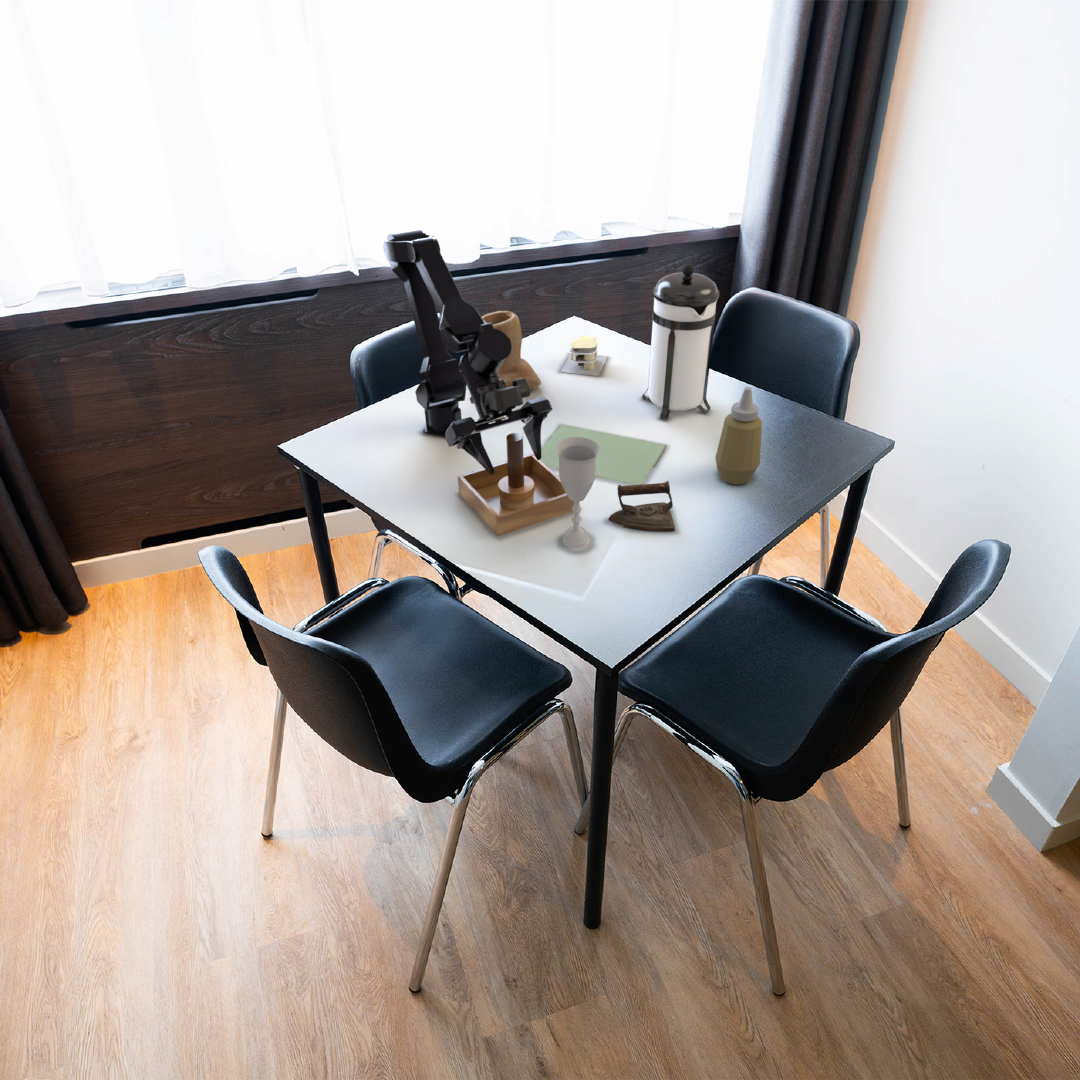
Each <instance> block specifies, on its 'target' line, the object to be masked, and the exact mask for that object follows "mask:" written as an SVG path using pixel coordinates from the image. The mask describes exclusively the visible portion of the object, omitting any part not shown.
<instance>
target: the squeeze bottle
mask: <svg viewBox="0 0 1080 1080" xmlns="http://www.w3.org/2000/svg"><path fill="white" fill-rule="evenodd" d="M759 408H760V407H759V406H757V404H755V403H754V400H753V389H752V387H750V386H745V387H744V389H743V391H742V394H741V397H740V399H739V401H737V402H735V403H733V404H732V406H731V409H730V410H731V411H730V413H728V414H727V415H726V416H725V417H724V420H723V425H722V427H721V433H720V435H719V436H720V437H719V441H718V445H717V448H716V453H715V455H714V456H715V458H714V459H715V464H716V468H717V472H718V475H719V478H720V479H721V480H722V481H723V482H725V483H727V484H730V485H744V484H747V483H749V482H750V481H751V480H752V478H753V476H754V475H755V473H756V471H757V469H758V468H759V466H760V464H761V451H762V450H761V449H762V433H763V422H762V419H761V418H760V417H759V410H760V409H759Z"/></svg>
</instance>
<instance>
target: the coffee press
mask: <svg viewBox="0 0 1080 1080" xmlns="http://www.w3.org/2000/svg"><path fill="white" fill-rule="evenodd" d="M652 297H653V300H654V301H653V306H652V312H651V319H652V326H651V337H650V340H651V341H650V352H649V353H650V355H649V368H648V379H647V380H648V382H647V389H646V391H645V392H644V393H643V394H642V395H641V398H642V400H643V401H649V400H650V401H651V402H652V403H653V405H655V406H657V407H659V408H661V412H660V415H659V419H660V420H664V421H667V420H669V416H670V413H671V412H672V411H687V410H692V409H695V408H698V410H700V412H701V413H702V414H704V415H705V414H708V413H709V412H710V410H711V406H710V403H709V402H708V400H707V394H708V393H707V392H708V385H709V376H710V367H711V357H712V348H713V342H714V341H713V340H714V332H715V322H716V320H717V319H716V318H717V302H718V300H719V298H720V290H719V289H718V287H717V283H715V281H714V280H713V279H712V278H710V277H708V276H706V275H704V274H700V273H695V268H694V266H693V265H692V264H690V263H689V264H685V265H683V267H682V268H681V272H674V273H670V274H667V275H665V276H663V277H662V278H660V279H659V280H658V282H657V283H656V285H655V286H654V287H653V288H652ZM646 393H647V395H648V396H647V395H646ZM701 404H704V406H705V407H706V409H705V408H704V406H703V405H701Z"/></svg>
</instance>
